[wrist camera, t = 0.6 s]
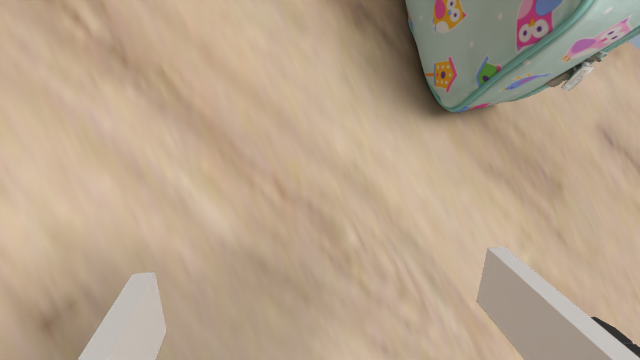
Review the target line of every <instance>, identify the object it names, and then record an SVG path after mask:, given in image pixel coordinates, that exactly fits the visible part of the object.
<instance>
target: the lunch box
mask: <svg viewBox="0 0 640 360" xmlns="http://www.w3.org/2000/svg"><path fill="white" fill-rule="evenodd" d="M405 2H406V6H407V12H408V17H409V18H408V23H409V26H410V30H411V32H412V34H413V36H414V39H415V42H416V44H417V47H418V51H419V55H420V59H421V63H422V67H423V70H424V74H425V78H426V80H427V83H428V85H429V87H430V89H431V91H432V93H433V95H434V96H435V98H436V100H437V101H438V102H439V104H440V105H441V106H442V107H444V108H445V109H446V110H448V111H450V112H455V113H456V112H462V111H467V110H470V109H477V108H482V107H486V106H490V105H494V104H498V103H502V102H510V101H515V100H519V99H523V98H526V97H529V96H532V95H534V94H536V93H539V92H541V91H542V90H544V89H546V88H548V87H555V86H557V85H559V84H560V83H562V82H563V81H565V80H567V81H566V82H565V83H564V85H563V86H562V87H561V88H562V89H565V90H571V89H573V88H574V87H575V86H576V85H577V84H578V83H579V82H580V81H581V80H582V79H583V78H584V77H585V76H586V75H588V74H589V73H590V72H591V71H592V70H593V69H594V68H593V67H591V66H589V65H590V64H592V63H593V62H595V61H598V62H600V61H602V60H603V58H604V57H605V56H606V55H608V53H607V52H609V51H611V50H612V49H614V48H616V47H617V46H619V45H621V44H623V43H625V42H627V41H628V40H630V39H632V38H633V37H635V36H637V35H639V34H640V0H405Z"/></svg>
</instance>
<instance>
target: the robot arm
mask: <svg viewBox="0 0 640 360" xmlns="http://www.w3.org/2000/svg"><path fill="white" fill-rule="evenodd" d="M476 302H477V303H478V304H479V305H480V306H481V308H482V309H483V310H484V311H485V313H486V314H487V315H488V316H489V317H490V319H491V320H492V321H493V322H494V323H495V325H496V326H497V327H498V328H499V329H500V331H501V332H502V333H503V334H504V335H505V337H506V338H507V339H508V340H509V342H510V343H511V344H512V345H513V346H514V348H515V349H516V350H517V351H518V352H519V354H520V355H521V356H522V357H523V358H524V360H640V347H638V346H637V345H636V344H633V343H632V341H631V340H630V339H628V338H627V337H626V336H625V335H623V334H622V333H621V332H620V331H618V330H617V329H616V328H614V327H612V326H611V325H609V324H607V323H605V322H603V321H602V320H600V319H598V318H596V317H589V316H588V315H587V314H586V313H584V312H583V311H582V310H581V309H580V308H578V307H577V306H576V305H575V304H574V303H572V302H571V301H570V300H569V299H567V298H566V297H565V296H564V295H563V294H561V293H560V292H559V291H558V290H557V289H555V288H554V287H553V286H552V285H550V284H549V283H548V282H547V281H546V280H544V279H543V278H542V277H541V276H540V275H538V274H537V273H536V272H535V271H534V270H532V269H531V268H530V267H529V266H527V265H526V264H525V263H524V262H523V261H521V260H520V259H519V258H518V257H517V256H515V255H514V254H513V253H512V252H511V251H509V250H508V249H507V248H506V247H494V248H488V249H487V254H486V259H485V263H484V268H483V273H482V278H481V282H480V287H479V292H478V297H477V301H476ZM166 331H167V329H166V324H165V319H164V314H163V310H162V305H161V300H160V295H159V290H158V285H157V280H156V275H155V272H149V273H136V274H132V276H131V277H130V279H129V280H128V282H127V283H126V285H125V287H124V288H123V290H122V291H121V293H120V294H119V296H118V297H117V299H116V301H115V302H114V304H113V305H112V307H111V308H110V310H109V311H108V313H107V315H106V316H105V318H104V319H103V321H102V322H101V324H100V326H99V327H98V329H97V330H96V332H95V333H94V335H93V336H92V338H91V340H90V341H89V343H88V344H87V346H86V347H85V349H84V350H83V352H82V354H81V355H80V357H79V358H78V360H156V357H157V355H158V352H159V350H160V347H161V344H162V342H163V339H164V337H165V334H166Z"/></svg>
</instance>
